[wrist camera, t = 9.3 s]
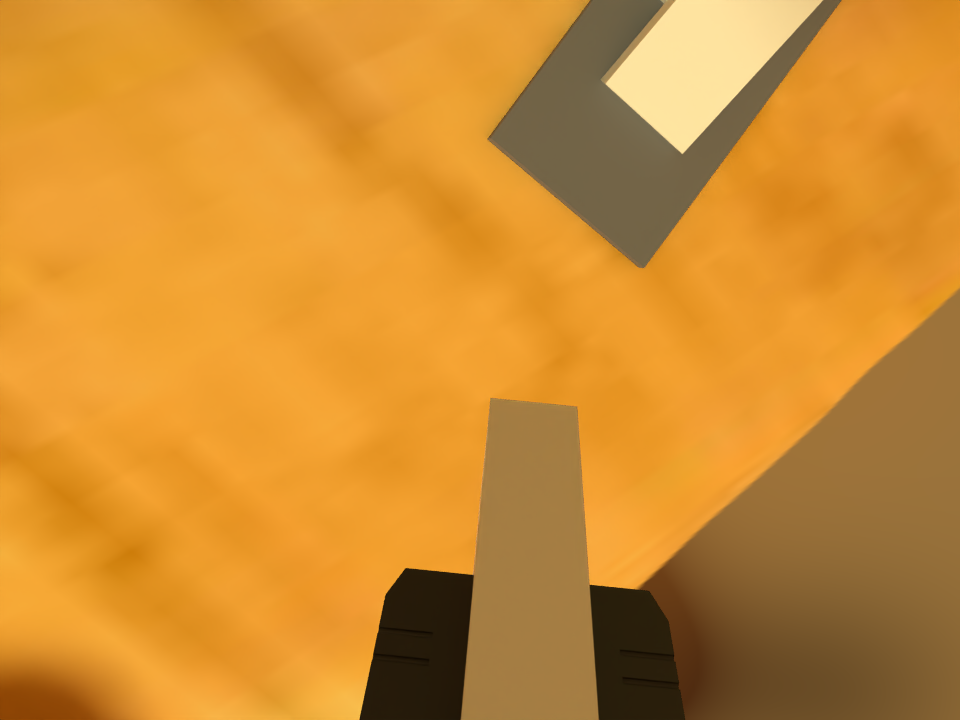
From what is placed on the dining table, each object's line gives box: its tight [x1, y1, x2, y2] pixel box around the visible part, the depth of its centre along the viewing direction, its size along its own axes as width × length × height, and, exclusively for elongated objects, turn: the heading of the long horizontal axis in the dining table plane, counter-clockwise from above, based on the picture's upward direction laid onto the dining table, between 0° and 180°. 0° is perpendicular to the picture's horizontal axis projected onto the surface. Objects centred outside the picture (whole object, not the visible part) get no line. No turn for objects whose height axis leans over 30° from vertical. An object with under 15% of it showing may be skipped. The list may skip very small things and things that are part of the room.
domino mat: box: [488, 0, 841, 268], centre depth 39 cm, size 22×10×1 cm, turn 142°
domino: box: [601, 0, 823, 154], centre depth 36 cm, size 2×5×10 cm
